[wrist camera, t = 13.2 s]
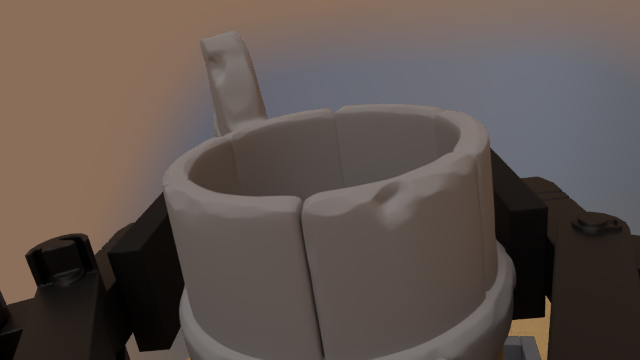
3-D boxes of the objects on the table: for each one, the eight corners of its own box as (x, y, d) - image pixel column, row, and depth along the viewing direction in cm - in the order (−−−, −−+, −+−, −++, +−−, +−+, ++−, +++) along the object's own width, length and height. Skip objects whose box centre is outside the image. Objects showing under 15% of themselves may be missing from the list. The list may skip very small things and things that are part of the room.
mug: (309, 786, 8) (92, 95, 4) (177, 374, 18) (77, 55, 14) (604, 537, 11) (651, -17, 7) (349, 300, 21) (307, 16, 17)
